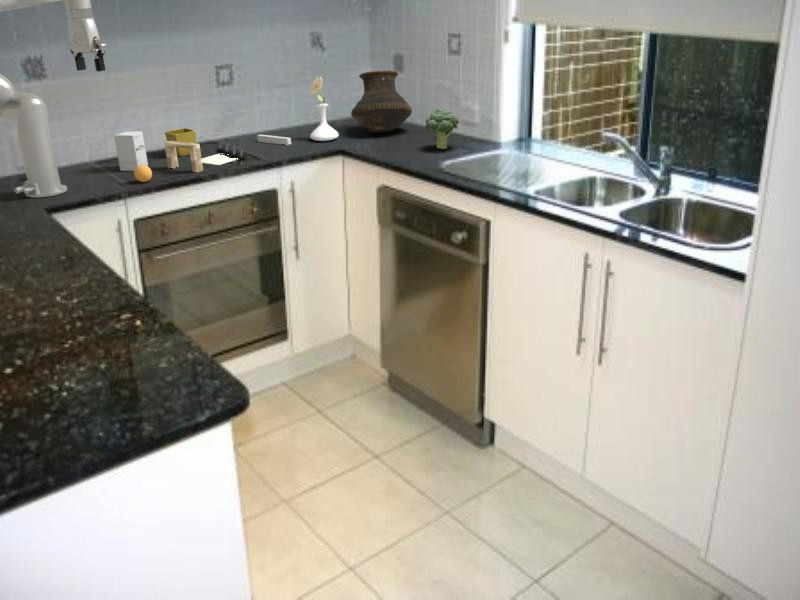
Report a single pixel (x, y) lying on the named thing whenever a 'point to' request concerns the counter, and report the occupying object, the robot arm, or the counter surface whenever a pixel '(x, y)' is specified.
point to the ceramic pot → (380, 103)
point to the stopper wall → (274, 139)
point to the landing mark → (217, 159)
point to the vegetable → (441, 125)
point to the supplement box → (130, 150)
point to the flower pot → (182, 139)
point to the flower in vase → (322, 116)
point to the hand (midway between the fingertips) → (91, 70)
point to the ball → (143, 173)
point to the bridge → (194, 154)
